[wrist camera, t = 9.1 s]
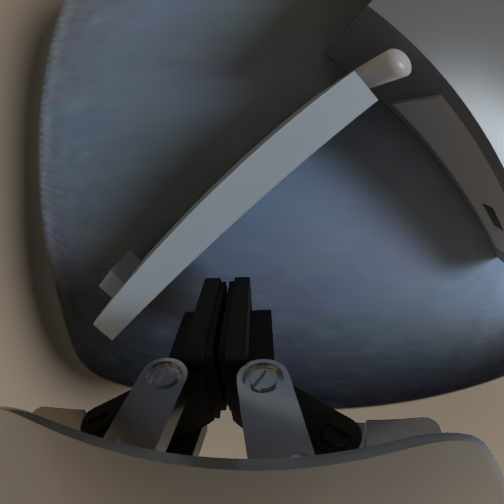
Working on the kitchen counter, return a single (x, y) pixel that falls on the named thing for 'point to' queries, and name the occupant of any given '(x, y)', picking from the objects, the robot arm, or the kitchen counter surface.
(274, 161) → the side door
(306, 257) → the kitchen counter surface
